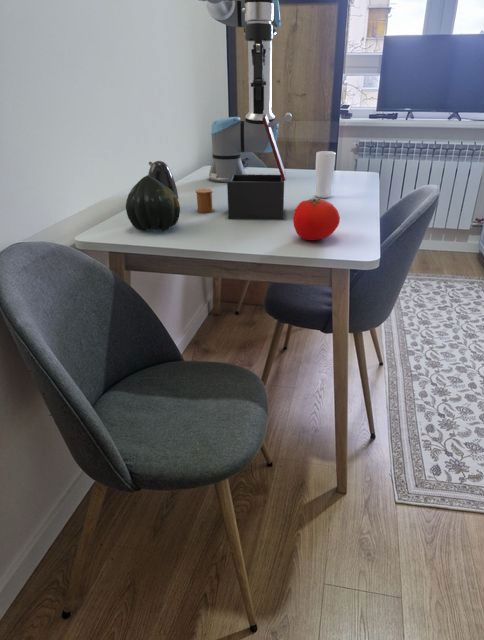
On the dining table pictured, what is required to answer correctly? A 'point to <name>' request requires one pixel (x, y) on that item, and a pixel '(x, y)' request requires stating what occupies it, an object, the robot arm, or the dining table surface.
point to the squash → (152, 205)
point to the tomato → (315, 219)
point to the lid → (272, 141)
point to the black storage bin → (255, 196)
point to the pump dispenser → (162, 175)
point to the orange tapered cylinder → (204, 200)
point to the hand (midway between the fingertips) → (258, 112)
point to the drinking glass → (324, 173)
